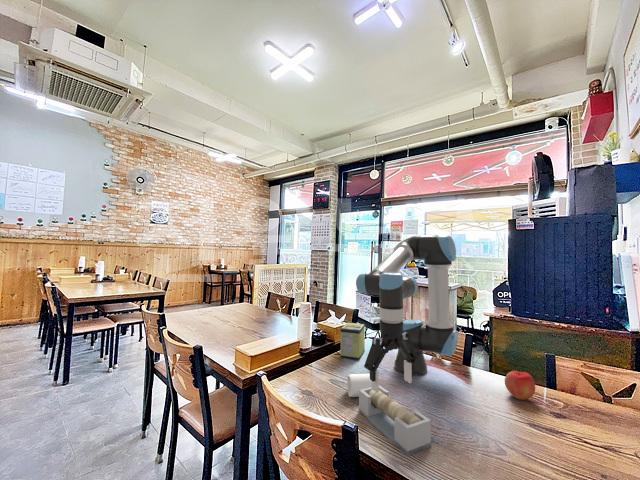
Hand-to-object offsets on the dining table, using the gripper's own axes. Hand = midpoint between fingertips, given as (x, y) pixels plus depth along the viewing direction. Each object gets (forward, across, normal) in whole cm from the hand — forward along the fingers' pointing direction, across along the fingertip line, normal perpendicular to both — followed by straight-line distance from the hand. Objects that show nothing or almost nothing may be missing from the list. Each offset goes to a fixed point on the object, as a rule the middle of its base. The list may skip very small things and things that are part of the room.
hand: (392, 385), depth 92 cm
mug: (+14, -3, -23) cm, 27 cm away
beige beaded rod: (+8, 0, 0) cm, 8 cm away
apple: (+14, -57, +7) cm, 60 cm away
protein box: (+14, -23, -60) cm, 66 cm away
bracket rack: (+13, +1, 0) cm, 13 cm away
